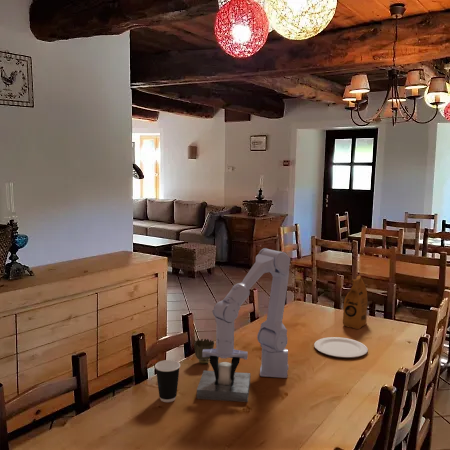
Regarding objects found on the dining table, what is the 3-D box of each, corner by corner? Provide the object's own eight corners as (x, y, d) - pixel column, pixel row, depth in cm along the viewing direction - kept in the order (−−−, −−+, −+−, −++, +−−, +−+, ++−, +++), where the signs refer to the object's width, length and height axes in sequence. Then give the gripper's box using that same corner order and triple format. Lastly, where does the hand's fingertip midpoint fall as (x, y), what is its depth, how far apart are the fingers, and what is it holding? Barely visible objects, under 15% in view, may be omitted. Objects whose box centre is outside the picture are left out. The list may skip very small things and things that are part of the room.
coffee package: (338, 325, 219) (340, 278, 216) (349, 318, 229) (351, 273, 226) (360, 330, 213) (362, 282, 210) (369, 323, 223) (372, 276, 220)
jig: (250, 381, 163) (250, 373, 162) (247, 402, 149) (247, 392, 149) (203, 378, 165) (203, 370, 164) (196, 398, 151) (196, 389, 150)
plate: (309, 355, 186) (309, 351, 186) (319, 337, 205) (319, 333, 205) (364, 364, 178) (364, 360, 178) (370, 345, 197) (370, 341, 197)
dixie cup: (185, 397, 152) (185, 364, 150) (168, 407, 145) (168, 372, 144) (167, 390, 156) (166, 357, 155) (149, 399, 150) (149, 366, 148)
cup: (211, 367, 173) (211, 346, 172) (191, 365, 175) (191, 344, 174) (215, 359, 180) (215, 339, 179) (196, 357, 182) (196, 337, 181)
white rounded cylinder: (232, 382, 159) (232, 362, 158) (230, 388, 154) (231, 367, 154) (218, 382, 159) (219, 361, 159) (217, 387, 155) (217, 367, 154)
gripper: (200, 341, 151) (200, 382, 153) (246, 344, 150) (246, 385, 152) (204, 333, 158) (204, 373, 160) (248, 336, 157) (247, 375, 158)
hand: (224, 378), depth 156 cm, fingers closed on white rounded cylinder, 4 cm apart
